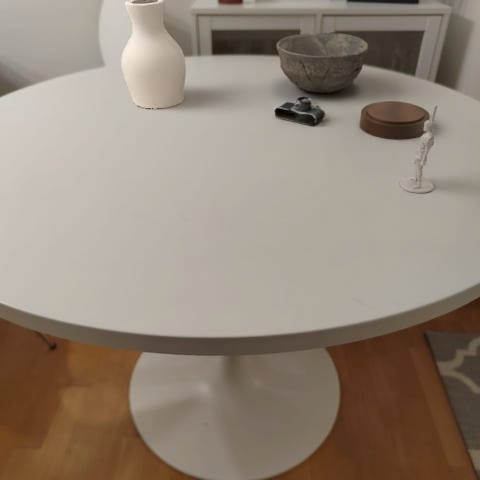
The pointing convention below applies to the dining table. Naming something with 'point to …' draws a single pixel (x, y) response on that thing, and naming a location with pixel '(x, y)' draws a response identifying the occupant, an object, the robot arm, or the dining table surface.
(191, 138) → the dining table surface
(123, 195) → the dining table surface
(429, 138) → the figurine
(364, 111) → the stand
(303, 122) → the camera
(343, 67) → the bowl
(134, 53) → the vase
